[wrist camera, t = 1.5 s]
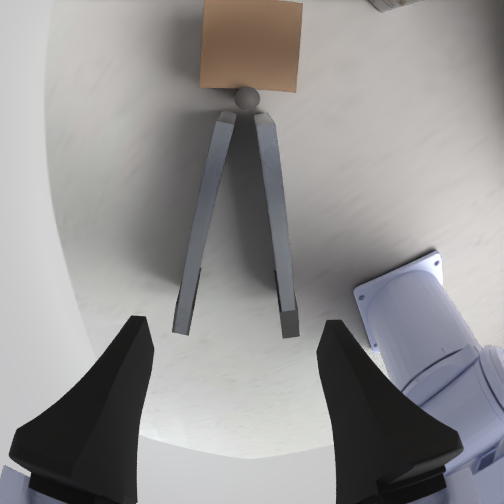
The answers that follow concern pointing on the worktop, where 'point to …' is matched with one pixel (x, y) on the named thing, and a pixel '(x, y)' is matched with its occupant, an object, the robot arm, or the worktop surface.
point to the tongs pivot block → (250, 47)
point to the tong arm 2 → (277, 223)
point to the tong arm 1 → (202, 221)
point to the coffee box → (391, 4)
